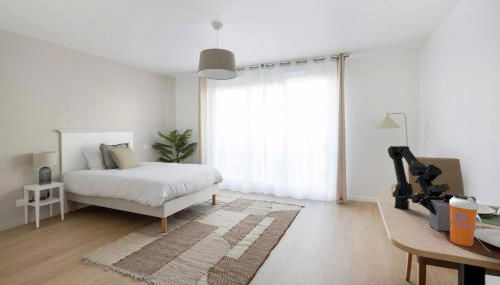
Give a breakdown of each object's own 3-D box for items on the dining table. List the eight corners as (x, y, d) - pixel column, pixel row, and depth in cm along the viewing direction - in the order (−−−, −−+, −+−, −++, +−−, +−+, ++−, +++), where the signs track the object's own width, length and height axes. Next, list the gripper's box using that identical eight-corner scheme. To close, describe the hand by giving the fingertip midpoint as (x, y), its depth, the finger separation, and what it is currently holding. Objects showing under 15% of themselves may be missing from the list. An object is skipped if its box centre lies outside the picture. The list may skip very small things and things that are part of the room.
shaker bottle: (448, 235, 104) (450, 191, 103) (476, 242, 98) (479, 196, 97) (446, 242, 98) (448, 195, 97) (475, 250, 92) (478, 200, 91)
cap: (429, 225, 114) (430, 200, 114) (441, 226, 114) (442, 201, 113) (437, 230, 109) (438, 204, 108) (450, 230, 108) (451, 204, 108)
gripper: (416, 177, 115) (430, 206, 104) (455, 178, 113) (474, 207, 103) (405, 188, 123) (418, 216, 113) (442, 189, 122) (458, 218, 111)
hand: (442, 214), depth 110 cm, fingers open, 6 cm apart
